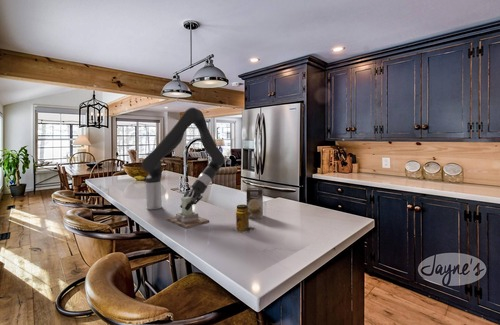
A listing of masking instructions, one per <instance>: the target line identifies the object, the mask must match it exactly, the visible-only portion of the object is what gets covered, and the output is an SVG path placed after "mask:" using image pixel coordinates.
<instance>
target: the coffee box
mask: <svg viewBox="0 0 500 325" xmlns="http://www.w3.org/2000/svg"><path fill="white" fill-rule="evenodd" d="M263 190H264V189H263V187H247V188H246V205H247V206H248V212H249V219H263V216H264V215H263V214H264V212H263V211H264V204H263V203H264V199H263V198H264V194H263V193H264V191H263Z"/></svg>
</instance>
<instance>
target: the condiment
mask: <svg viewBox="0 0 500 325" xmlns="http://www.w3.org/2000/svg"><path fill="white" fill-rule="evenodd" d="M235 220H236V222H235V223H236V225H235V226H236V228H234V229H233V231H236V232H238V233H243V234H245V233H247V232H249V231H253V229H255V227H252V226H250V225H249V224H250V223H249V222H250V221H249V220H250V218H249V212H248V206H247V204H238V205H236V212H235Z"/></svg>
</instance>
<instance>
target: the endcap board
mask: <svg viewBox="0 0 500 325" xmlns="http://www.w3.org/2000/svg"><path fill="white" fill-rule="evenodd" d="M166 221H168V222H171V223H172V224H175V225H177V226H180V227H182V228H184V229H190V228H192V227H196V226H199V225H204V224H206V223H210V220H209V219H208V218H204V217H202V216H199V213H198V212H195V211H193V214H192V215H188V216H183V215H182V212H179V213H178V212H177V213H176V214H175V216H170V217H167V218H166Z"/></svg>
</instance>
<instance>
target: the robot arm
mask: <svg viewBox="0 0 500 325" xmlns="http://www.w3.org/2000/svg"><path fill="white" fill-rule="evenodd" d="M192 124H194V125H195V127H196V128H197V130H198V133H199V137H200V142H201V144H202V147H203V148H204V150H205V152H206V154H208V155H209V156H210V157H211V160H210V162H209V163H208V165H207V166H206V167H205V168H204V169H203V170H202V172H201V173H200V174H199V175H198V177H197V178H196V179H195V181H194V182H193V184H192V186H191V189H190V191H188V190H186V191H185V194H184V196H183V197H191V200H190V201H189V203H188V204H187V205H186V207H185V209H186V210H189V209H190V207H191V206H192V207H193V205H197V204H198V202H200V200H202V198H203V195H202V194H204V193H205V191H206V190H207V189H208V187H209V186H210V184H211V182H212V180H213V179H214V178H215V176H216V174H217V173H218V171H219V170H220V169H221V167H222V166H223V164H225V157H224V155H223V153H222V152H221V150H220V149H219V147H217V146H218V145H217V144H216V142H215V141H214V139H213V136H212V134H211V133H210V132H211V131H210V130H209V127H208V124H207V122H206V119H205V116H204V113H203V112H202V110H200V109H198V108H195V107H189V108H187V109H186V110H185V111H184V112H183V114H181V117H180V118H179V119H178V121H177V123H176V124H175V125H174V126H173V127H172V128H171V129H170V131H169V132H168V133H167V134H166V135H165V136H164V137H163V138H162V140H161V141H160V142H159V143H158V145H157V146H156V147H155V148H154V149H153V150H152V152H151V153H149V154H148V155H147V156H146V157H144V159H143V161H142V162H141V168H142V170H143V171H145V172H148V173H147V176H146V177H145V196H146V197H145V198H146V209H147V210H158V209H161V208H162V207H163V204H162V201H163V200H162V199H163V198H162V183H161V182H162V180H161V178H162V177H163V176H162V175H163V174H162V171H163V169H162V168H163V165H162V159H163V158H164V157H166V156H167V155H168V154H170V153H171V152H173V151H174V150H175V149H176V148H177V147H178V146H179V145H180V144H181V142H182V141H183V137H184V136H185V133H186V131H187V129H188V128H189V127H190V126H191V125H192ZM179 207H180V208H181V209H182V204H181V205H180V206H179Z"/></svg>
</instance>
